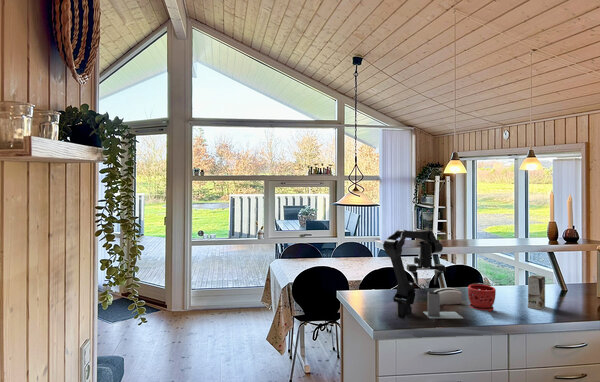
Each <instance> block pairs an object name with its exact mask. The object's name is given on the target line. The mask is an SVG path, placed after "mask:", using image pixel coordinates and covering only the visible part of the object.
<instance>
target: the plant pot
mask: <svg viewBox="0 0 600 382" xmlns="http://www.w3.org/2000/svg"><path fill="white" fill-rule="evenodd" d="M496 290H497V289H496V288H495V287H494V286H490V285H486V284H469V285H468V287H467V294H468V295H467V296H468V300H469V307H470V308H472V309H473V310H474V309H475V310H479V311H487V312H488V313H490V312H491V313H492V311H494V304H495V300H496V295H497V293H496Z"/></svg>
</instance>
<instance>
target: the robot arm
mask: <svg viewBox="0 0 600 382" xmlns="http://www.w3.org/2000/svg"><path fill="white" fill-rule="evenodd" d="M406 239H416V240H418V241H419V242H418V243H417V246H418V247H419V257H417V256H416V257H413V263H414V264H411V263H410V264H407V265H406V269H405V265H404V262H403V259H402V256H401V255H402V252H403V246H404V245H405V242H406ZM382 247H383V250H384V252H385V254H386V255H387V257H389V259H390V261H391V265H392V269H393V272H394V275H395V279H396V281H397V286H396V292H395V294H394V296H393V297H392V300H393V302H394V303H396V305H395V307H396V312H395V315H396V316H397V318H405V317H406V315H410V314H412V312H413V311H412V310H413V308H412V305H414V303H415V302H414V301H415V299H416V290H417V289H415V285H414V283H412V282H409V280H408V277H407V272H406V271H408V272H409V273H411V274H412V276H413V278H414V281H415V284H416V285H417V286H418V285H419V277H418V276H419V275H418V270H419V271H420V270H422V271H423V270H424V271H425V270H427V271H429V270H430V271H431V270H433V271H434V279H433V280H434V281H433V284H434V285H435V286H436V285H437V283H438V281H439V278H440V276H441V274H444V272H447V269H446V268H447V267H446V266H445V265H444V264H441V263H439V264H438V263H436V264H434V265H433V264H432V263H433V262H432V261H433V256H432V254H436V253H437V254H438V253H441V252H442V251H443V249H444V247H443V244H442V243H441V242H440V239H437V237H436V236H435V233H433V230H430V229H417V230H406V229H396V230H395V232H394V233H392V234H391V235H389V236H387V238H386V239H385V240H384V241H383V244H382Z"/></svg>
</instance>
